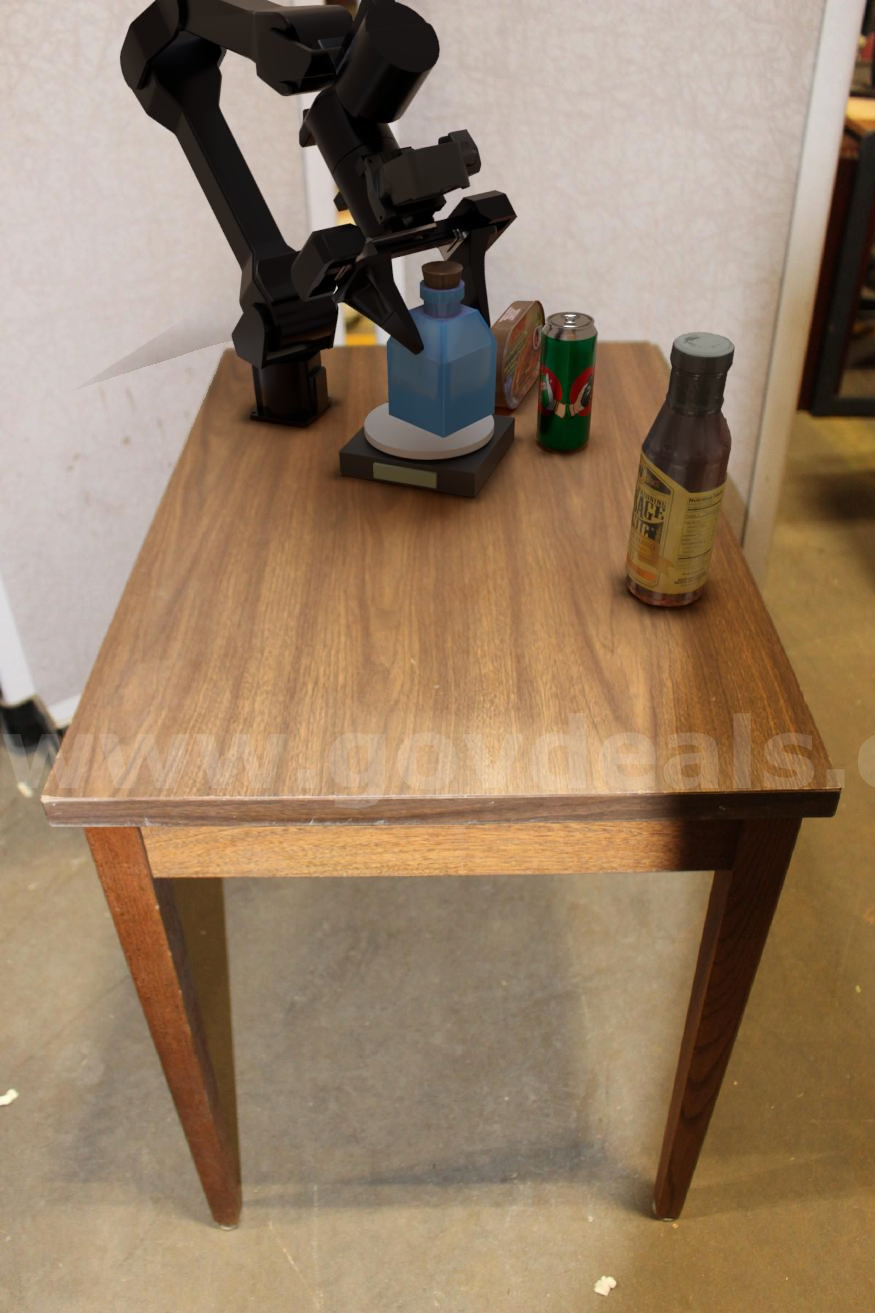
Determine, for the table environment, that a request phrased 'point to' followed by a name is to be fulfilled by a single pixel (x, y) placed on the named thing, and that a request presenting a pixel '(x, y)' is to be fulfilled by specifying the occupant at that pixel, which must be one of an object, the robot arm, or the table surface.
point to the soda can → (566, 381)
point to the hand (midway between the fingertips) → (453, 341)
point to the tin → (517, 351)
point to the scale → (427, 453)
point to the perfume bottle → (443, 359)
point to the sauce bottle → (682, 476)
